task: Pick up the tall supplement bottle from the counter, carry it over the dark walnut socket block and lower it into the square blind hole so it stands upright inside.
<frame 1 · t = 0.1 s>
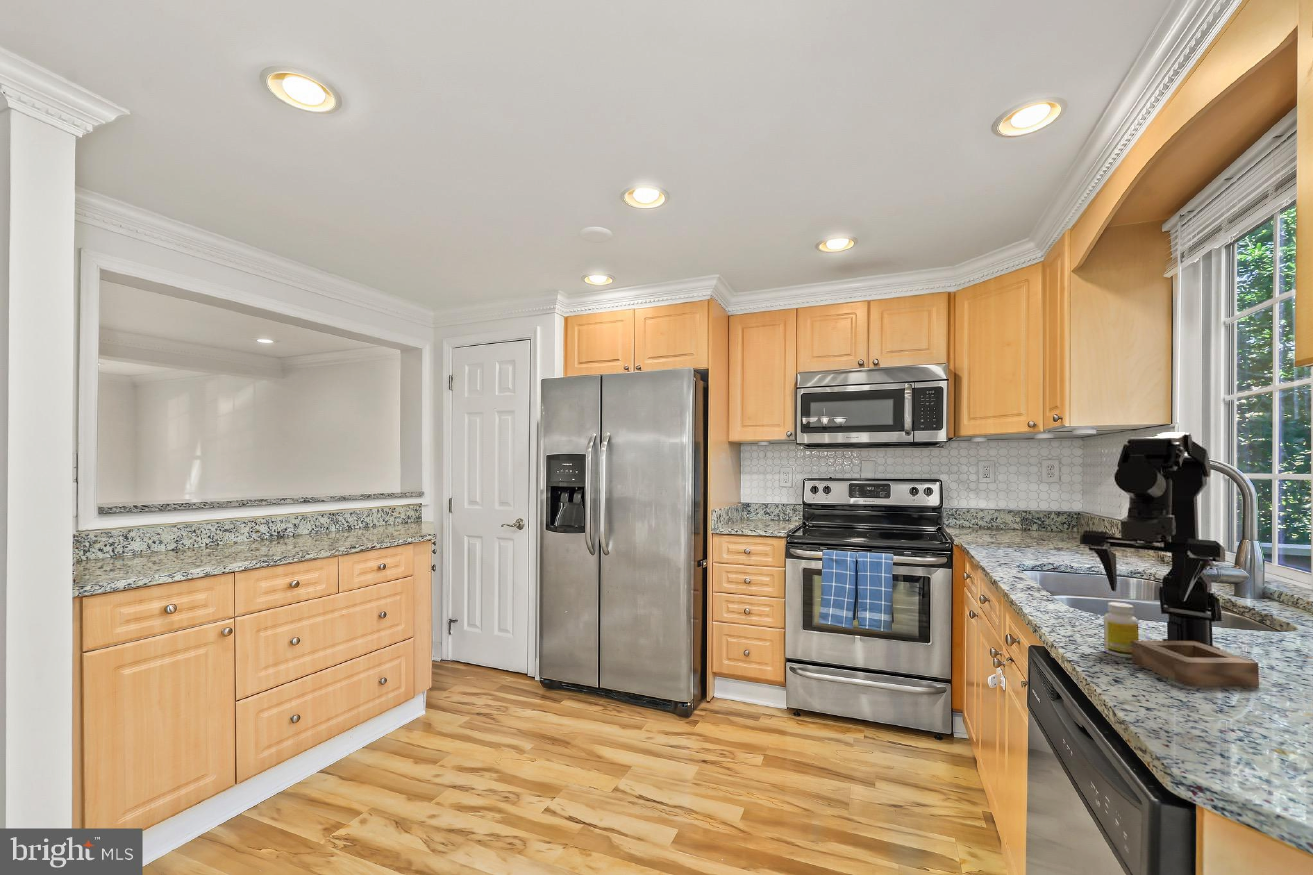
hand: (1147, 595, 100), 15 cm above the countertop, tool pointing down, fingers open, 9 cm apart
socket block: (1191, 673, 106), on the countertop
supplement bottle: (1121, 655, 116), on the countertop
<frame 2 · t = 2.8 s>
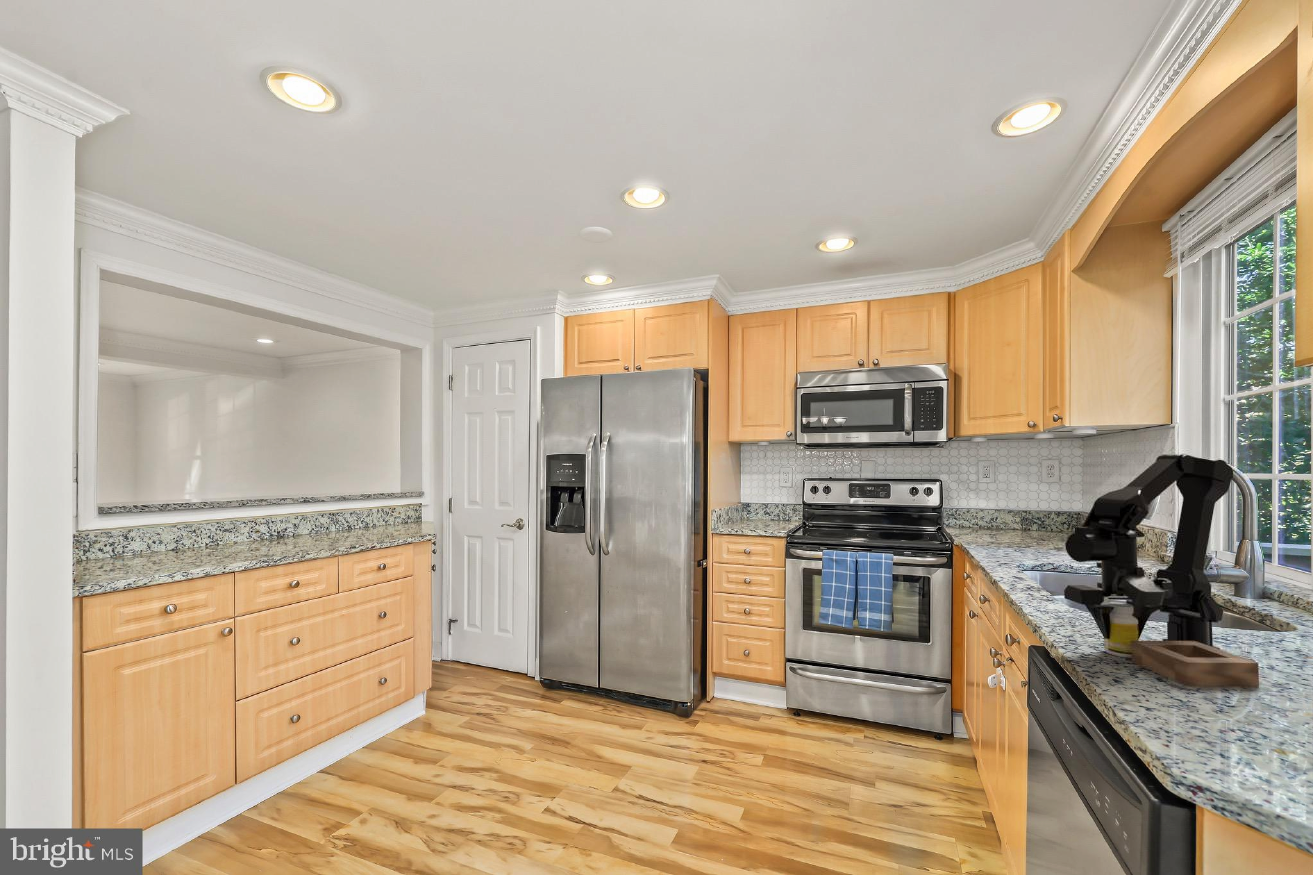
hand: (1121, 638, 117), 3 cm above the countertop, tool pointing down, fingers closed on supplement bottle, 5 cm apart
supplement bottle: (1121, 655, 116), on the countertop, touching gripper
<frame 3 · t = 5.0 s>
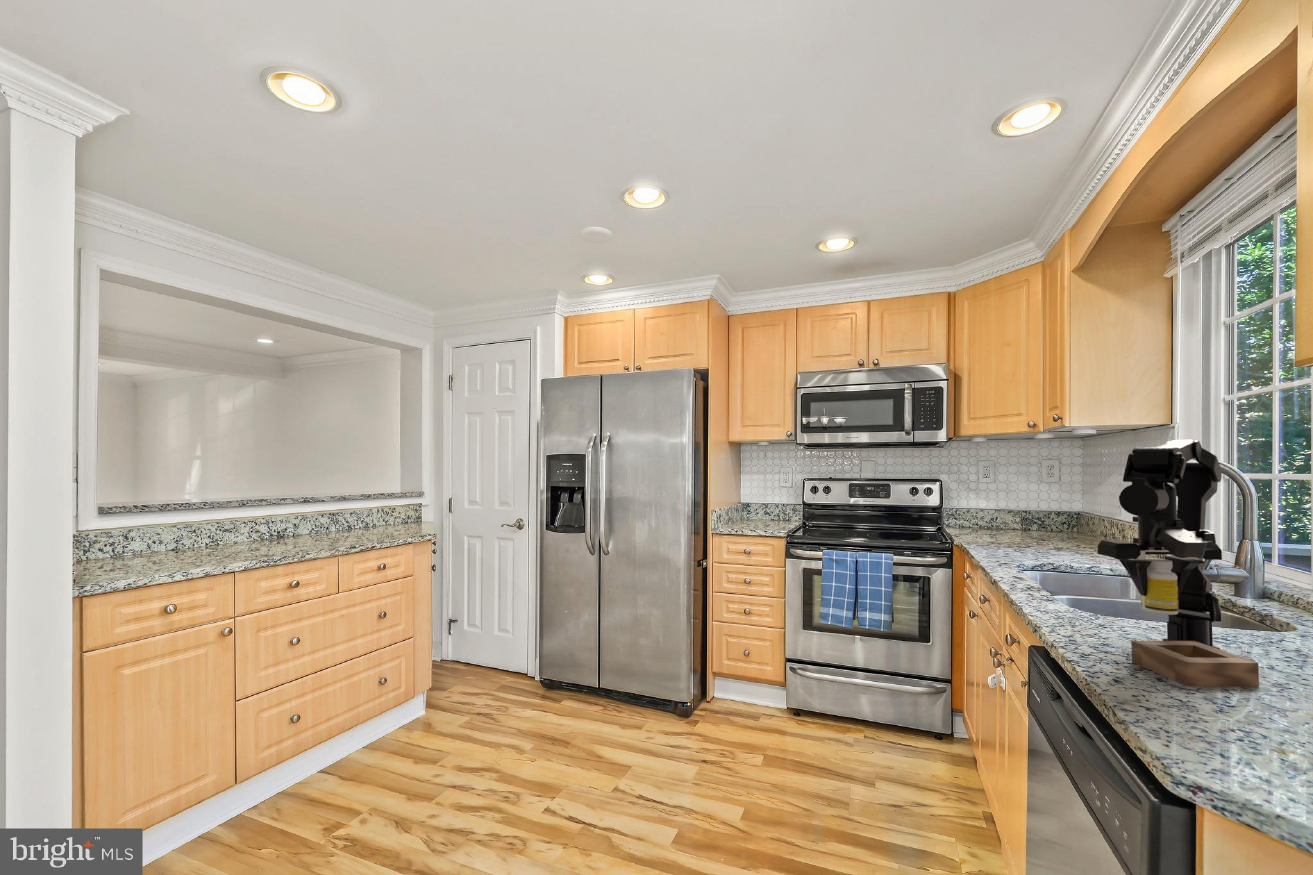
hand: (1159, 595, 111), 13 cm above the countertop, tool pointing down, fingers closed on supplement bottle, 5 cm apart
supplement bottle: (1159, 612, 110), point 10 cm above the countertop, touching gripper
when the fingers open (5 cm above the countertop, at t = 7.0 s): supplement bottle drops 1 cm, resting on socket block.
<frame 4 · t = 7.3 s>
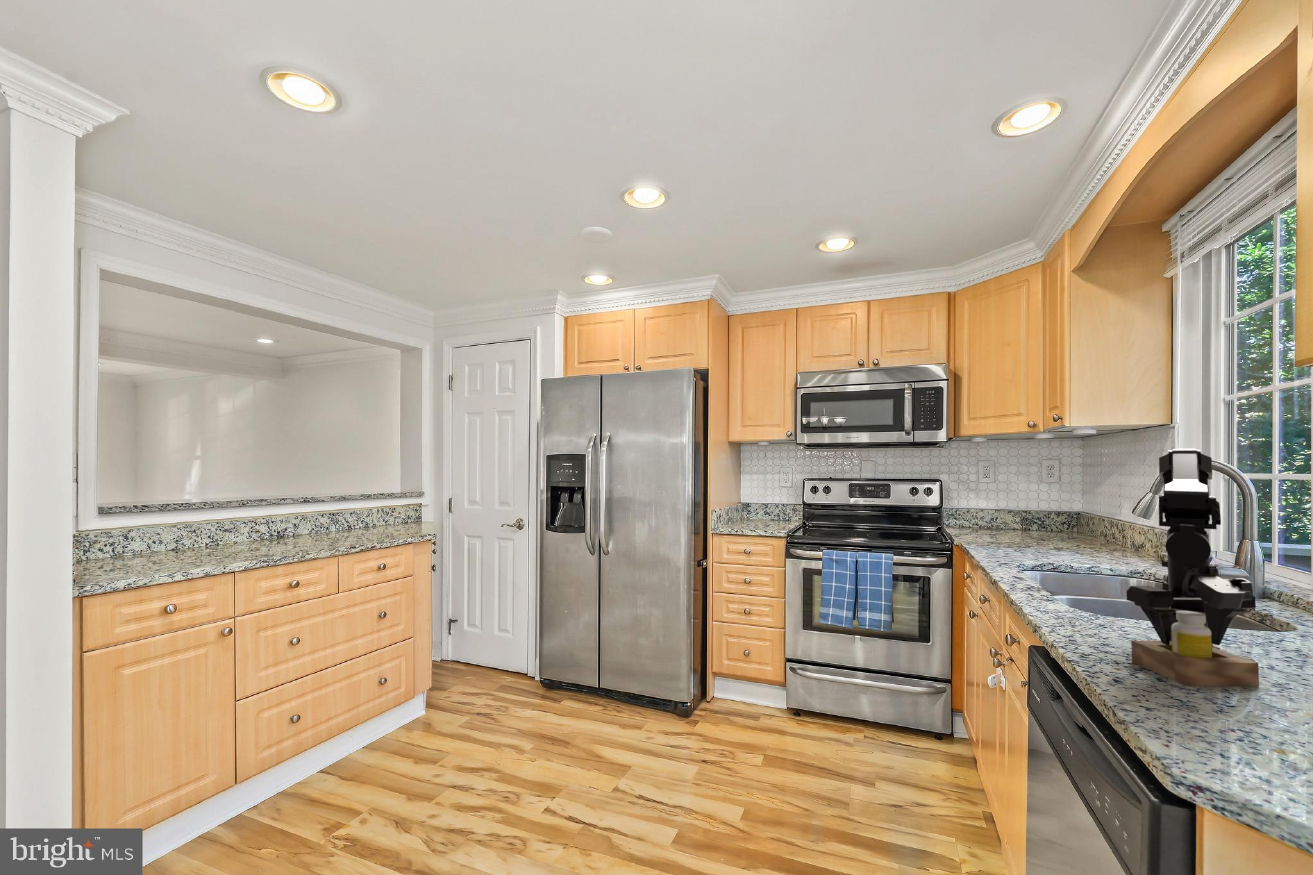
hand: (1190, 644, 106), 5 cm above the countertop, tool pointing down, fingers open, 9 cm apart
supplement bottle: (1192, 668, 106), point 1 cm above the countertop, touching socket block
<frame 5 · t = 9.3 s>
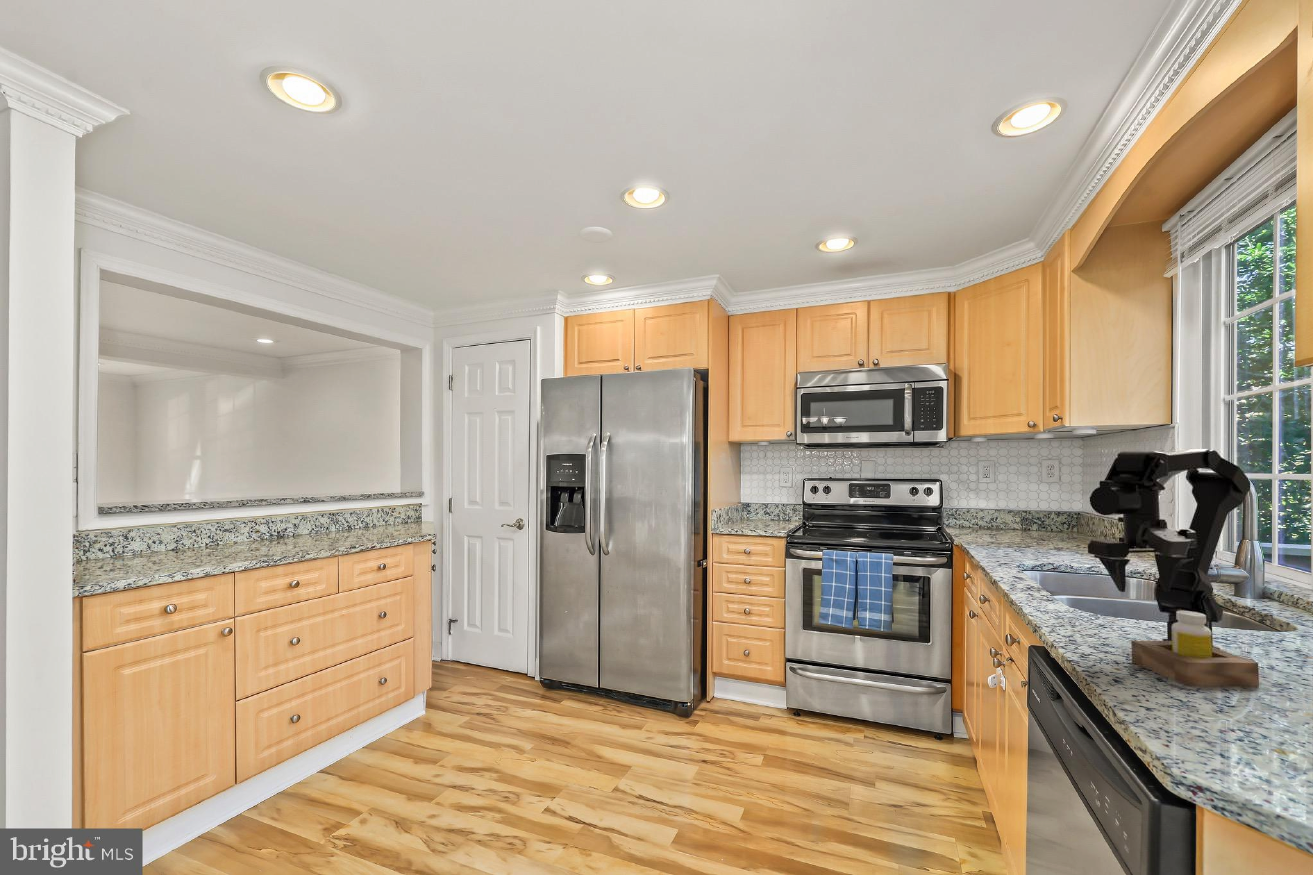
hand: (1144, 591, 118), 12 cm above the countertop, tool pointing down, fingers open, 9 cm apart
nothing on the countertop moved.
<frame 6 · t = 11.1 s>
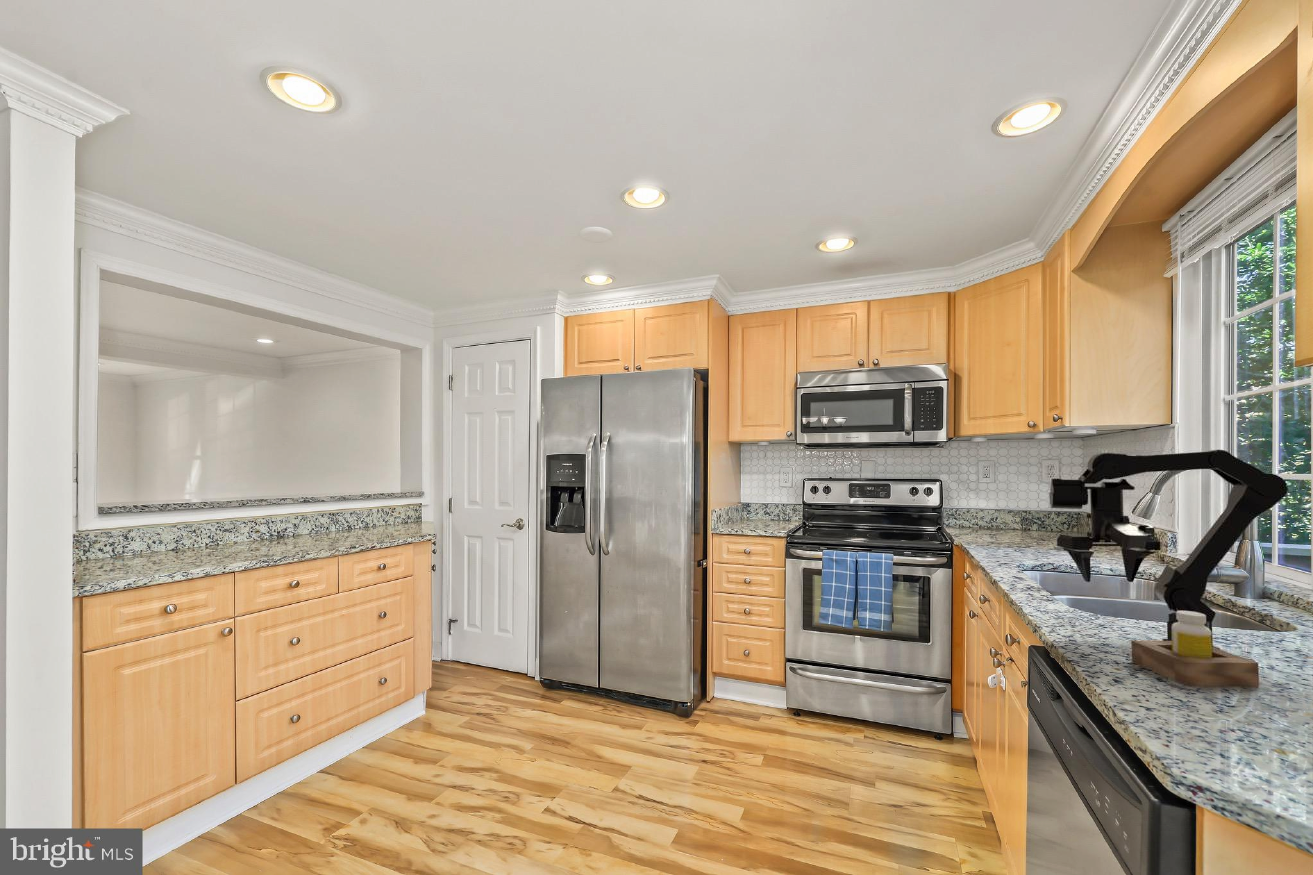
hand: (1108, 581, 128), 12 cm above the countertop, tool pointing down, fingers open, 9 cm apart
nothing on the countertop moved.
at the end: supplement bottle 0.2 cm off-centre on the socket block, point 0.8 cm above the socket block's base; supplement bottle tilted 0°; the gripper is holding nothing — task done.
